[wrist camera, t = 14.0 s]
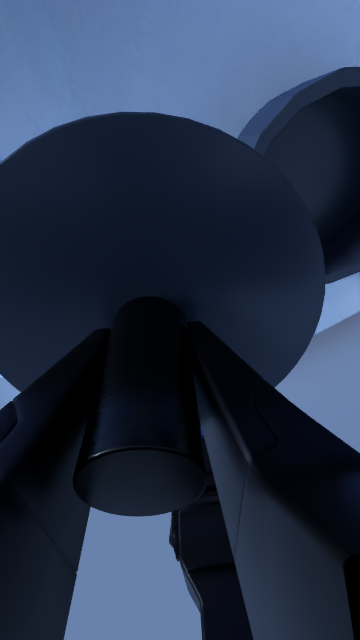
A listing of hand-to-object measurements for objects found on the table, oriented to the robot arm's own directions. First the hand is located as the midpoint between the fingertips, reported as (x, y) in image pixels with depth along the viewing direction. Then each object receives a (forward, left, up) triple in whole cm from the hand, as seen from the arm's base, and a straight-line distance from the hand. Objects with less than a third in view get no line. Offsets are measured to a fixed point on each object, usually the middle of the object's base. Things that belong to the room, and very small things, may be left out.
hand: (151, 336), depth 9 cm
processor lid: (0, 0, -1) cm, 1 cm away
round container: (+2, -10, -13) cm, 16 cm away
